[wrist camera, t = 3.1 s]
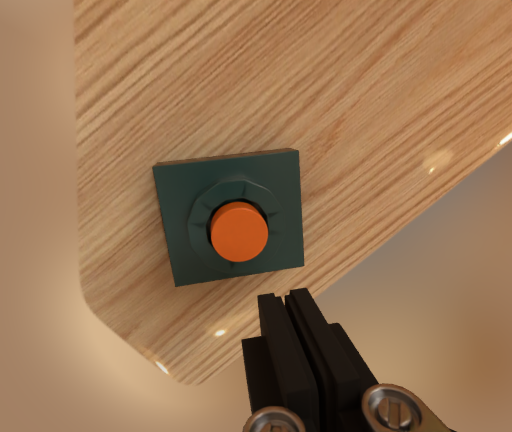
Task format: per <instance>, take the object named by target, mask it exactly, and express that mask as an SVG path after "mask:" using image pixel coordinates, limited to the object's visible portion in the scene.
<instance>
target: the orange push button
mask: <svg viewBox="0 0 512 432" xmlns="http://www.w3.org/2000/svg"><path fill="white" fill-rule="evenodd" d="M210 228H211V240H212V244H213V247H214V248H215V250H216V251H217V253H218V254H219V255H220V256H222V257H223V258H225V259H227V260H230V261H235V262H242V261H247V260H250V259H252V258H254V257H255V256H257V255H258V254H259V253H260V252H261V251H262V250H263V248H264V247H265V245H266V242H267V239H268V228H267V225H266V223H265V221H264V219H263V218H262V216H261V214H260V213H259V211H258V210H257V209H256V208H255V207H253V206H252V205H250V204H248V203H245V202H231V203H228V204H226V205H224V206H222V207H221V208H220V209H218V211H217V212H216V213H215V214H214V216H213V218H212V221H211V227H210Z"/></svg>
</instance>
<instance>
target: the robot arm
mask: <svg viewBox="0 0 512 432" xmlns="http://www.w3.org/2000/svg"><path fill="white" fill-rule="evenodd" d="M258 308H259V318H260V328H261V336H259V337H253V338H248V339H242V349H243V357H244V364H245V371H246V379H247V385H248V392H249V399H250V405H251V411H252V416H251V417H249V419H248V420H247V422H246V424H245V425H244V427H243V432H456V431H454V430H451V429H449V428H448V427H447V426H446V425H445V424H444V423H443V422H442V421H441V420H440V419H439V418H438V417H437V416H436V415H435V414H434V413H433V412H432V411H431V410H430V409H429V408H428V407H427V406H426V405H425V404H424V403H423V401H422V400H421V399H419V398H418V397H417V396H416V395H414V393H412V392H411V391H409V390H407V389H405V388H403V387H401V386H397V385H394V384H379V383H378V381H377V380H376V378H375V377H374V375H373V374H372V372H371V371H370V369H369V368H368V366H367V364H366V363H365V362H364V360H363V358H362V357H361V355H360V354H359V352H358V351H357V349H356V348H355V346H354V345H353V343H352V342H351V340H350V339H349V337H348V335H347V334H346V332H345V331H344V329H343V328H342V326H341V325H340V324H339V323H332V324H328V323H327V321H326V320H325V318H324V316H323V315H322V313H321V311H320V310H319V308H318V306H317V305H316V303H315V301H314V299H313V298H312V296H311V294H310V293H309V291H308V289H307V288H300V289H294V290H290V295H285V306H284V303H283V301H282V298H281V296H278V297H275V295H274V293H270V294H263V295H258Z"/></svg>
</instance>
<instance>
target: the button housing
mask: <svg viewBox="0 0 512 432" xmlns="http://www.w3.org/2000/svg"><path fill="white" fill-rule="evenodd" d="M153 173H154V178H155V183H156V188H157V194H158V199H159V204H160V209H161V215H162V220H163V225H164V230H165V236H166V241H167V246H168V251H169V257H170V262H171V267H172V272H173V277H174V283H175V287H178V286H184V285H191V284H197V283H203V282H209V281H215V280H222V279H228V278H234V277H240V276H246V275H252V274H259V273H265V272H271V271H277V270H283V269H290V268H296V267H302V266H304V248H303V228H302V208H301V188H300V167H299V151H298V150H295V149H292V148H285V149H276V150H267V151H258V152H249V153H240V154H231V155H222V156H213V157H204V158H195V159H186V160H177V161H168V162H159V163H156V164H155V165H154V166H153ZM231 202H245V203H248V204H250V205H252V206H253V207H255V208H256V209H257V210H258V211H259V213H260V214H261V216H262V218H263V219H264V221H265V223H266V225H267V228H268V239H267V242H266V245H265V247H264V248H263V250H262V251H261V252H260V253H259V254H258V255H257V256H255V257H254V258H252V259H250V260H247V261H242V262H235V261H230V260H227V259H225V258H223V257H222V256H220V255H219V254H218V253H217V251H216V250H215V248H214V247H213V244H212V240H211V228H210V227H211V221H212V218H213V216H214V214H215V213H216V212H217V211H218V209H220V208H221V207H222V206H224V205H226V204H228V203H231Z"/></svg>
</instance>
